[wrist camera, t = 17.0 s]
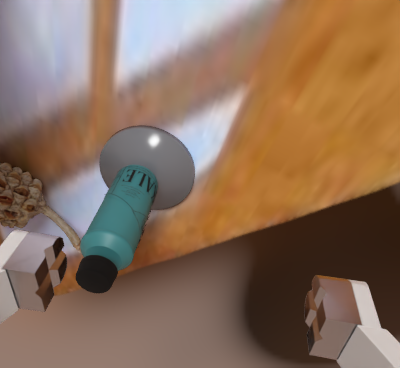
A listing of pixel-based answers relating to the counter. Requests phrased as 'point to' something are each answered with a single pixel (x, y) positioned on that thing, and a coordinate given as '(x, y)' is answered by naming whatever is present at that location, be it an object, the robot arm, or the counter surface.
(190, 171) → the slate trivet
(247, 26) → the counter surface
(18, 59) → the counter surface
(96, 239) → the beverage bottle
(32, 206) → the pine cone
